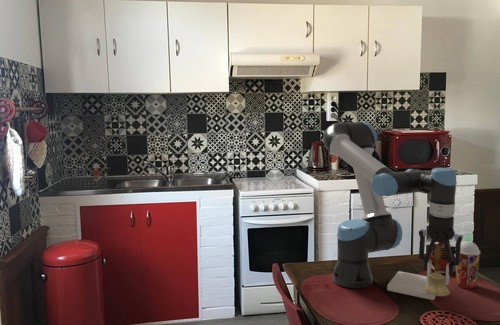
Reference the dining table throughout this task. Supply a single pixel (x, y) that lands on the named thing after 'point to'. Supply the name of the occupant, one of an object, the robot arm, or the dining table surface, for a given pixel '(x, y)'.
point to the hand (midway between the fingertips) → (437, 281)
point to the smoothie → (468, 265)
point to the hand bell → (437, 277)
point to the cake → (443, 257)
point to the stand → (409, 285)
